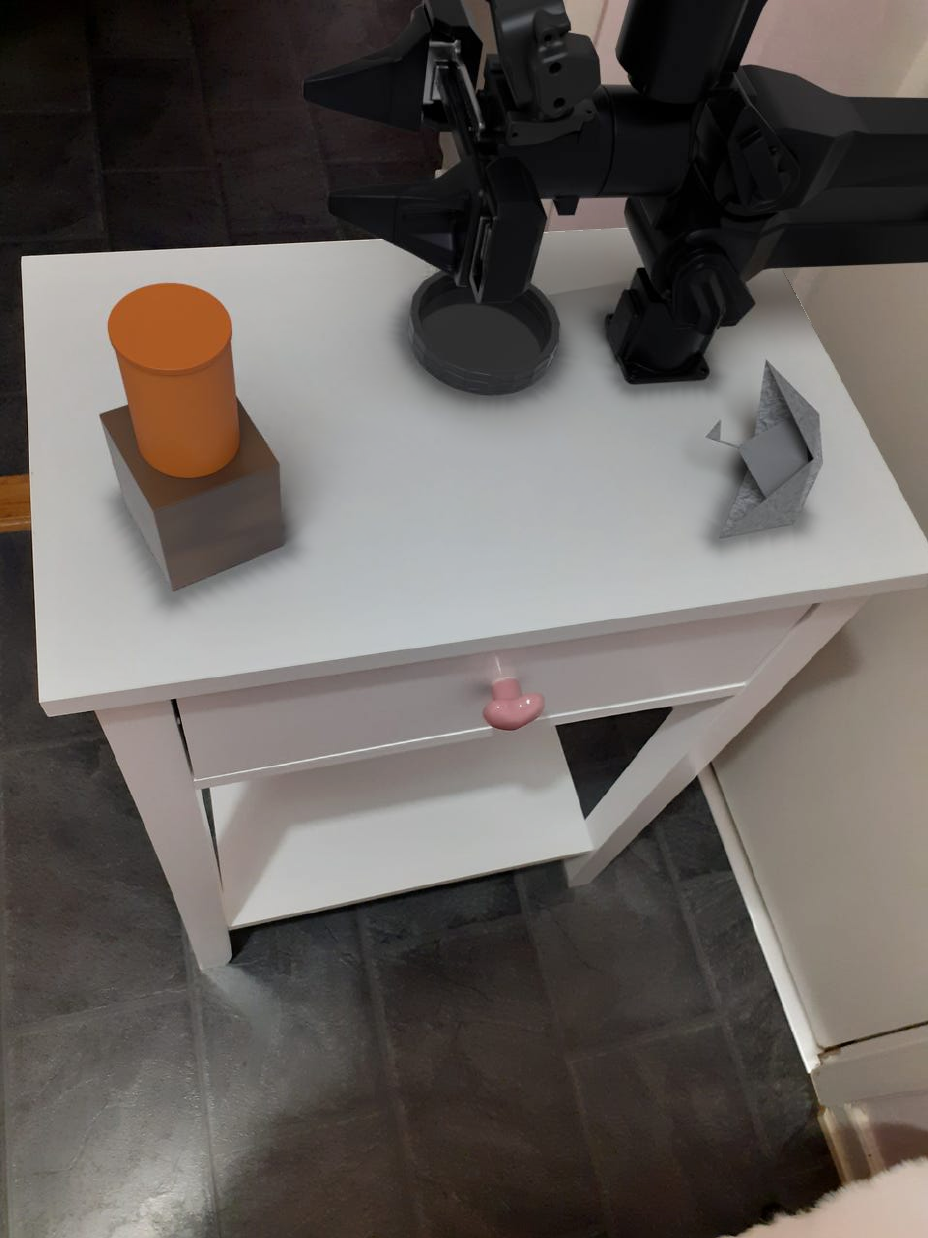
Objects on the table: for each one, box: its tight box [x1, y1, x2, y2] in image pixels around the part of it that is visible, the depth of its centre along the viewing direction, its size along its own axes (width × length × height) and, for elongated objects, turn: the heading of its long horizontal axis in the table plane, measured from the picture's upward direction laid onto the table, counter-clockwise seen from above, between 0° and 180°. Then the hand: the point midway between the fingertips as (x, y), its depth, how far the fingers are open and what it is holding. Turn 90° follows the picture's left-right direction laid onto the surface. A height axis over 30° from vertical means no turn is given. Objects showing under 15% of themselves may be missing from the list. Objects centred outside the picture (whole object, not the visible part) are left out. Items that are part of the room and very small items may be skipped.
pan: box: [407, 270, 561, 396], centre depth 66 cm, size 11×11×2 cm
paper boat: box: [706, 359, 824, 539], centre depth 61 cm, size 12×6×9 cm
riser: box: [98, 395, 284, 592], centre depth 52 cm, size 7×7×8 cm
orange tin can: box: [107, 282, 240, 478], centre depth 45 cm, size 5×5×8 cm
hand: (314, 143), depth 48 cm, fingers open, 9 cm apart
